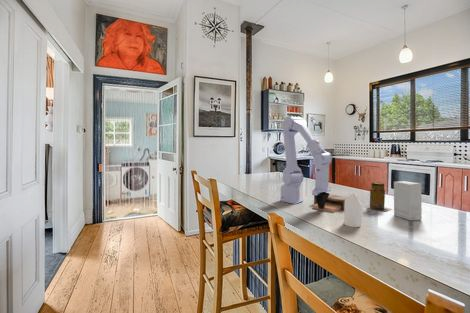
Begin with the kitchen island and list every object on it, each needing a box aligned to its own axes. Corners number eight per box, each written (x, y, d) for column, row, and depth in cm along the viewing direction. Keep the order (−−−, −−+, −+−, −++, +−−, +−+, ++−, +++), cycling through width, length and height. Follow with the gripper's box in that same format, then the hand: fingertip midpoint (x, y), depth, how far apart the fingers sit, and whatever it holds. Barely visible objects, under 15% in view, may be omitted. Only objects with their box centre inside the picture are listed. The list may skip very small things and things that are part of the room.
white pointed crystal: (343, 194, 92) (346, 191, 96) (342, 225, 92) (345, 221, 97) (361, 195, 88) (363, 193, 93) (360, 228, 89) (362, 224, 94)
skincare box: (421, 220, 98) (423, 183, 97) (408, 221, 97) (410, 184, 96) (404, 214, 106) (406, 180, 106) (392, 214, 106) (393, 180, 105)
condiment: (372, 205, 121) (373, 181, 120) (391, 209, 114) (392, 183, 114) (365, 208, 116) (366, 183, 115) (385, 212, 110) (386, 185, 109)
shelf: (314, 204, 123) (314, 195, 123) (321, 201, 129) (321, 192, 128) (344, 210, 113) (344, 200, 112) (350, 206, 118) (351, 197, 118)
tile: (312, 209, 116) (312, 205, 116) (325, 203, 126) (326, 200, 126) (333, 213, 109) (333, 209, 109) (345, 207, 119) (346, 203, 119)
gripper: (323, 182, 103) (322, 213, 104) (337, 178, 114) (336, 207, 114) (308, 180, 108) (307, 210, 109) (322, 176, 118) (321, 204, 119)
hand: (321, 208), depth 112 cm, fingers closed
